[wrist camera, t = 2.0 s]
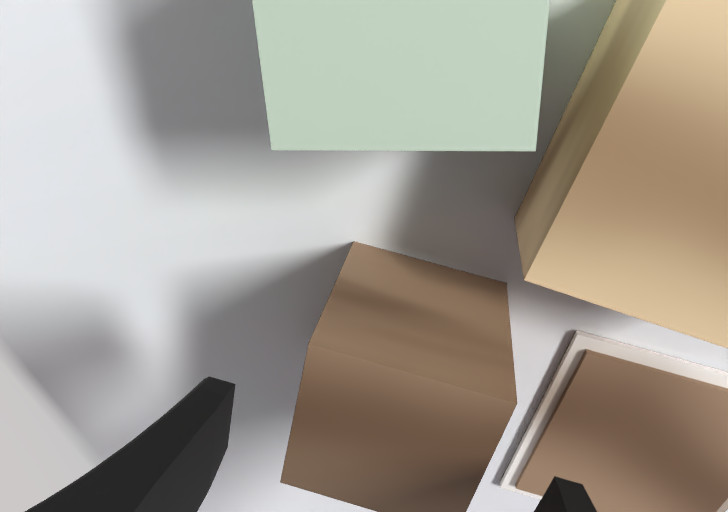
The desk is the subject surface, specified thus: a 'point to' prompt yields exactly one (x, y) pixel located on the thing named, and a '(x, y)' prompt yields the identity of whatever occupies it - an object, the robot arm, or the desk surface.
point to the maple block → (641, 173)
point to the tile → (628, 431)
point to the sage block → (402, 73)
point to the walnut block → (403, 386)
